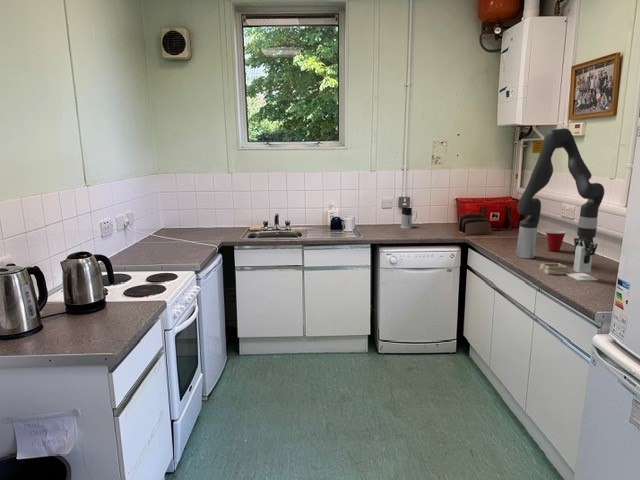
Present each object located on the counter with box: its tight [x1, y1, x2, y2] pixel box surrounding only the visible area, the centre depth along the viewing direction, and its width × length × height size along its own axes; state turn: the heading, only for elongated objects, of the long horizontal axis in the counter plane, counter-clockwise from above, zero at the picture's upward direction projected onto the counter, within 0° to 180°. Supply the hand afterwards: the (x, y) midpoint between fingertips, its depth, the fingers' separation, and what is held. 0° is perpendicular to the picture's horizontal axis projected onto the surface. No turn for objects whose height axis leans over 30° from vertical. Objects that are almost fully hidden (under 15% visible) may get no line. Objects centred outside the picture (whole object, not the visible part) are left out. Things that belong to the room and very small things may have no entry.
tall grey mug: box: [400, 207, 418, 229], centre depth 339 cm, size 9×14×15 cm, turn 40°
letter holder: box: [458, 212, 492, 236], centre depth 317 cm, size 10×20×14 cm, turn 102°
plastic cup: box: [545, 230, 567, 253], centre depth 262 cm, size 11×11×12 cm
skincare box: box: [572, 245, 594, 273], centre depth 208 cm, size 6×4×12 cm
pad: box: [565, 272, 598, 282], centre depth 210 cm, size 10×9×1 cm
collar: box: [539, 262, 569, 275], centre depth 219 cm, size 8×10×4 cm
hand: (583, 261), depth 208 cm, fingers closed on skincare box, 4 cm apart
